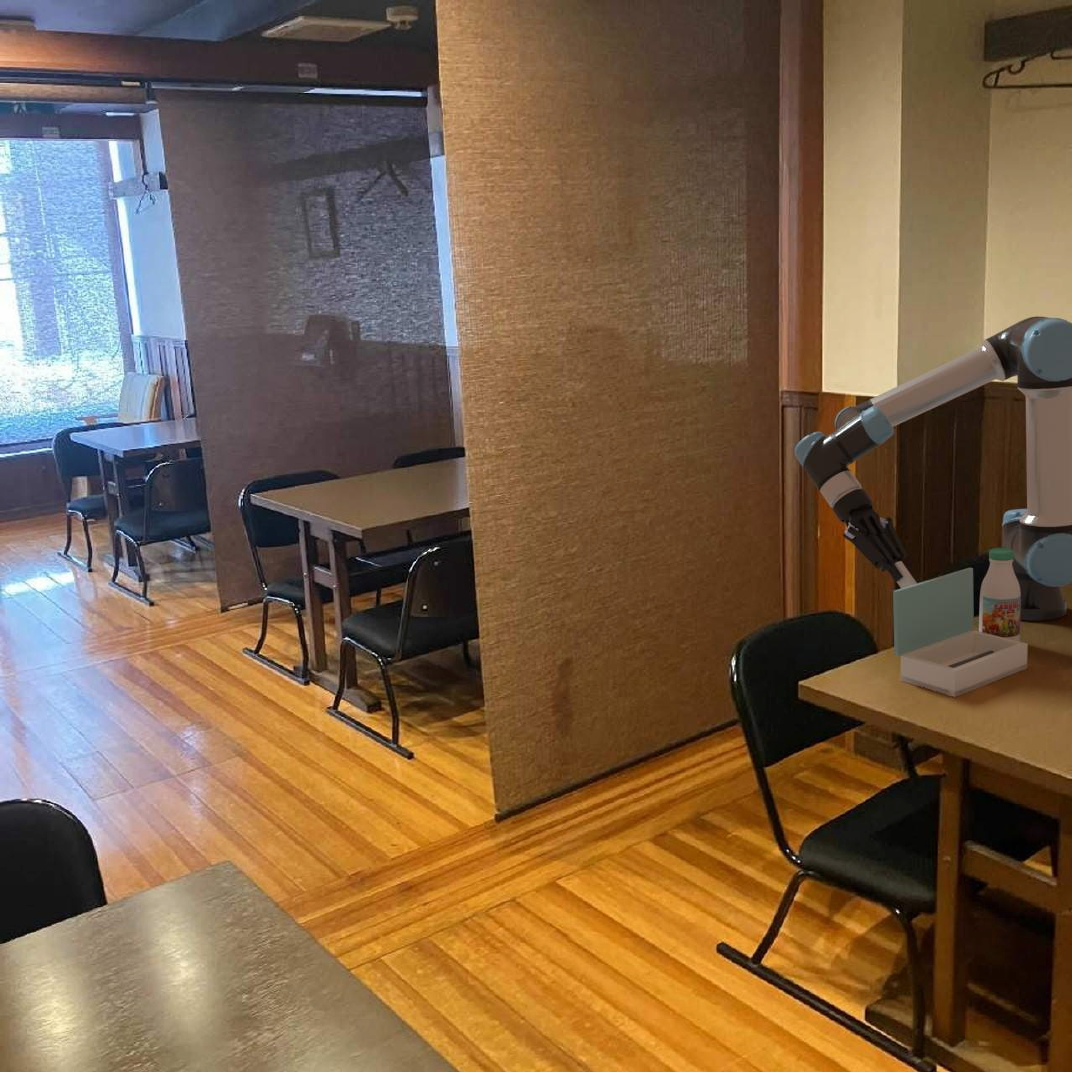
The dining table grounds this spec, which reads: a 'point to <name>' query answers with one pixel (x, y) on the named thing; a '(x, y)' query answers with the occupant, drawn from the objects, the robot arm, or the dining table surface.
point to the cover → (933, 611)
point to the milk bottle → (1000, 597)
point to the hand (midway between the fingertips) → (913, 591)
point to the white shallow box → (963, 662)
